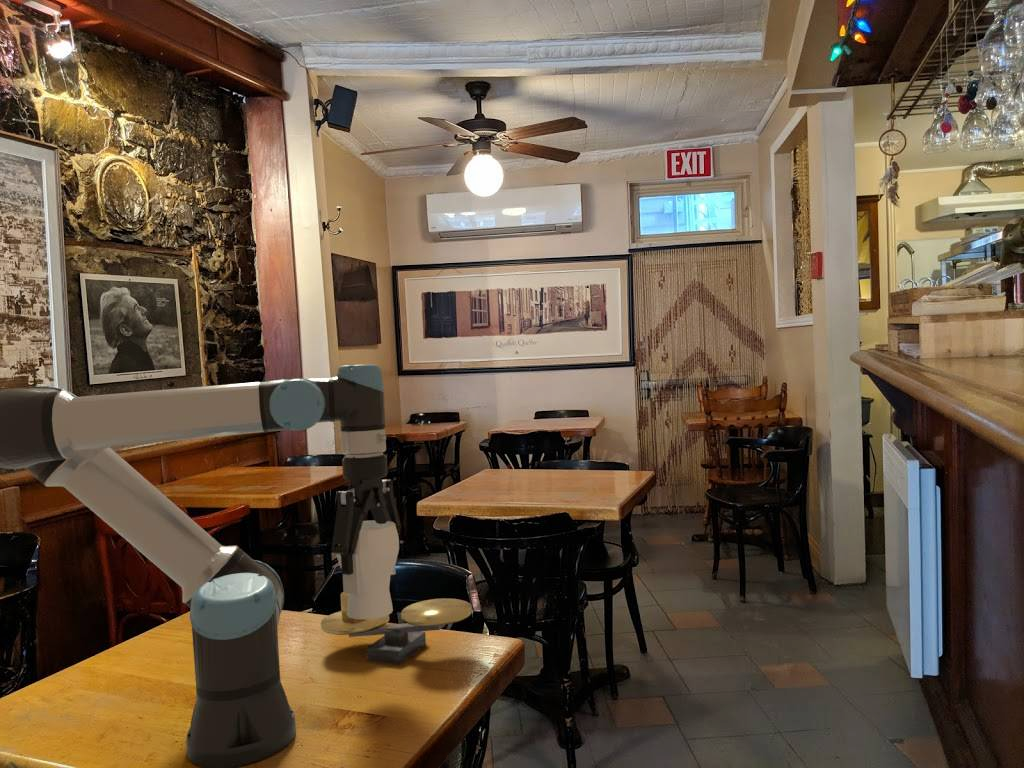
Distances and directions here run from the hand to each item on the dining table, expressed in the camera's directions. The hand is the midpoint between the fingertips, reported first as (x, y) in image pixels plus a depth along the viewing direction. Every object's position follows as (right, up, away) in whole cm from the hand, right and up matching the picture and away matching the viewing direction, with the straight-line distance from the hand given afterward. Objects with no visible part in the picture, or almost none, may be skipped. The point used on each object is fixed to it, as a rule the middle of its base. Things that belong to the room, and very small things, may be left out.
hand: (370, 583), depth 126 cm
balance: (+2, -17, +14) cm, 22 cm away
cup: (0, -5, 0) cm, 5 cm away
